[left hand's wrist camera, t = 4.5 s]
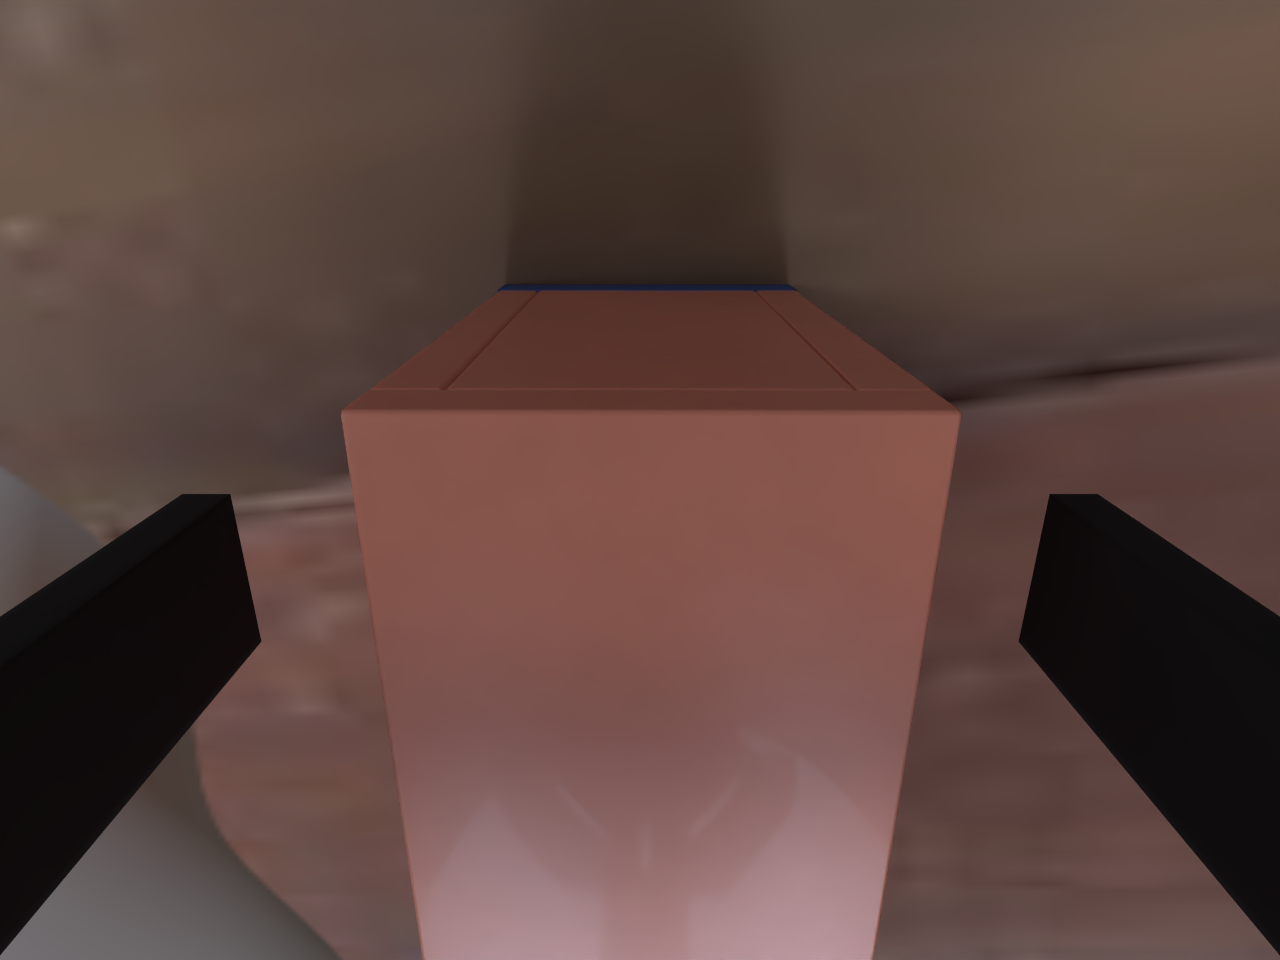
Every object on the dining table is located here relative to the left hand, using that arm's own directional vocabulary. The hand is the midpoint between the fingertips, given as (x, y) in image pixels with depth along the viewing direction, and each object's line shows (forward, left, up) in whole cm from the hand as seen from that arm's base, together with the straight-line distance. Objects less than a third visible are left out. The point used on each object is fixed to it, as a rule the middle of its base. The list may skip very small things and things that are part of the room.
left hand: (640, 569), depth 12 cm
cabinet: (+4, +1, -6) cm, 8 cm away
